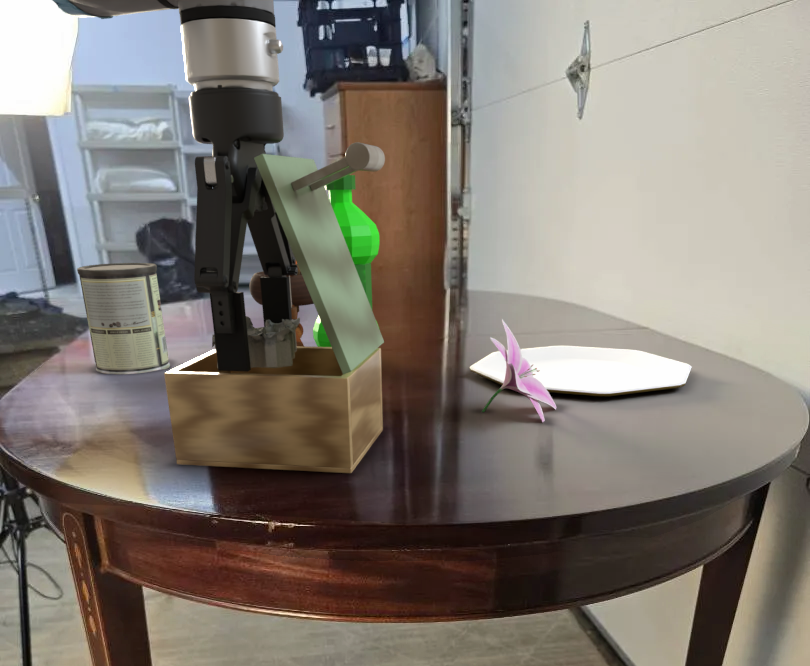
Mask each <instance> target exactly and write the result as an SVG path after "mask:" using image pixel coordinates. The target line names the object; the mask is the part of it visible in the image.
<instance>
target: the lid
mask: <svg viewBox="0 0 810 666" xmlns="http://www.w3.org/2000/svg"><path fill="white" fill-rule="evenodd" d="M344 155H345V156H344V157H343V158H340V159H338V160H336V161H334V162H332V163H330V164H328V165H325V166H323V167H321V168H319V169H318V168H317V164H316V162H315V159H313V158H305V157H296V156H285V155H278V154H277V155H276V154H269V153H266V154H261V155H259V156H257V157H255V158H254V159H255V162H256V164H257V167H258V169H259V171H260V174H261V176H262V179H263V181H264V184H265V186H266V188H267V191H268V193H269V196H270V198H271V201H272V203H273V205H274V208H275V210H276V213H277V215H278V218H279V220H280V223H281V225H282V227H283V230H284V232H285V235H286V237H287V240H288V242H289V244H290V247H291V249H292V252H293V254H294V257H295V259H296V261H297V264H298V266H299V269H300V271H301V274H302V276H303V278H304V281H305V283H306V286H307V288H308V291H309V293H310V295H311V298H312V300H313V303H314V304H313V306H314V307H315V310H316V313H317V314H318V315H319V317H320V320H321V322H322V325H323V327H324V329H325V332H326V334H327V337H328V339H329V342H330V344H331V347H332V349H333V351H334V354H335V356H336V359H337V361H338V364H339V366H340V368H341V371H342V373H343V374H346V373H348V372H351V371H352V370H353V369H354V368H356V367H357V366H358V365H359V364H360V363H361V362H362V361H363V360H365V359H366V358H367V357H368V356H369V355H370V354H371V353H372V352H374V351H375V350H376V349H377V348H380V347H381V346H382V345H383V344H384V343H385V341H384V338H383V335H382V332H381V330H380V326H379V324H378V321H377V319H376V317H375V315H374V312H373V308H372V309H371V306H370V304H369V301H368V299H367V296H366V293H365V291H364V288H363V286H362V283H361V281H360V278H359V275H358V273H357V270H356V268H355V265H354V262H353V260H352V257H351V255H350V252H349V250H348V247H347V244H346V242H345V239H344V237H343V234H342V231H341V229H340V226H339V224H338V221H337V219H336V216H335V213H334V211H333V208H332V206H331V203H330V200H329V194H328V193H327V190H325V188H324V186H326V185H328V184H330V183H332V182H334V181H336V180H339V179H341V178H343V177H345V176H347V175H353V174H354V173H356V172H358V171H360V172H371V173H372V172H373V173H375V172H378V171H381V170H382V168H383V167H384V165H385V162H386V155H385V153H384V151H383V149H382V148H381V147H379V146H377V145H372V144H367V143H363V142H358V141H357V142H353V143H351V144H350V145H348V146H347V148H346V151H345V154H344ZM318 315H317V316H318ZM376 321H377V322H376ZM378 326H379V327H378Z"/></svg>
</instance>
